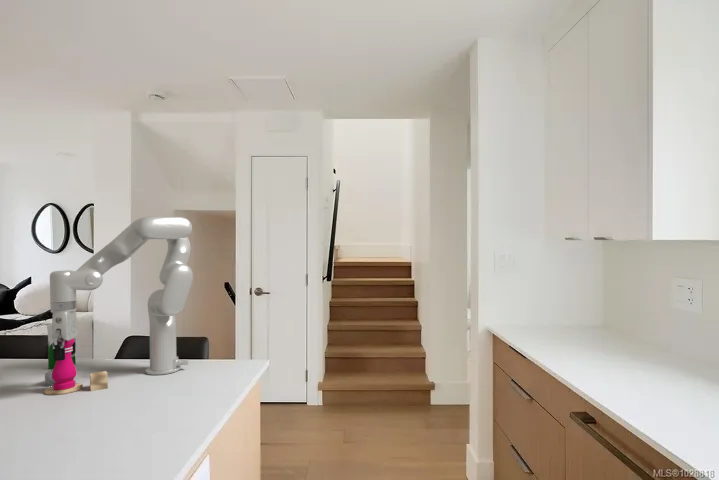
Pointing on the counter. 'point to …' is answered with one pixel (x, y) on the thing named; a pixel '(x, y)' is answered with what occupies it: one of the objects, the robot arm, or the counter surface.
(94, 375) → the oak block
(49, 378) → the grey rounded dome
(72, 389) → the cork trivet
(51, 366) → the milk carton
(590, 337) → the counter surface
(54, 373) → the pepper mill
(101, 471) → the counter surface
